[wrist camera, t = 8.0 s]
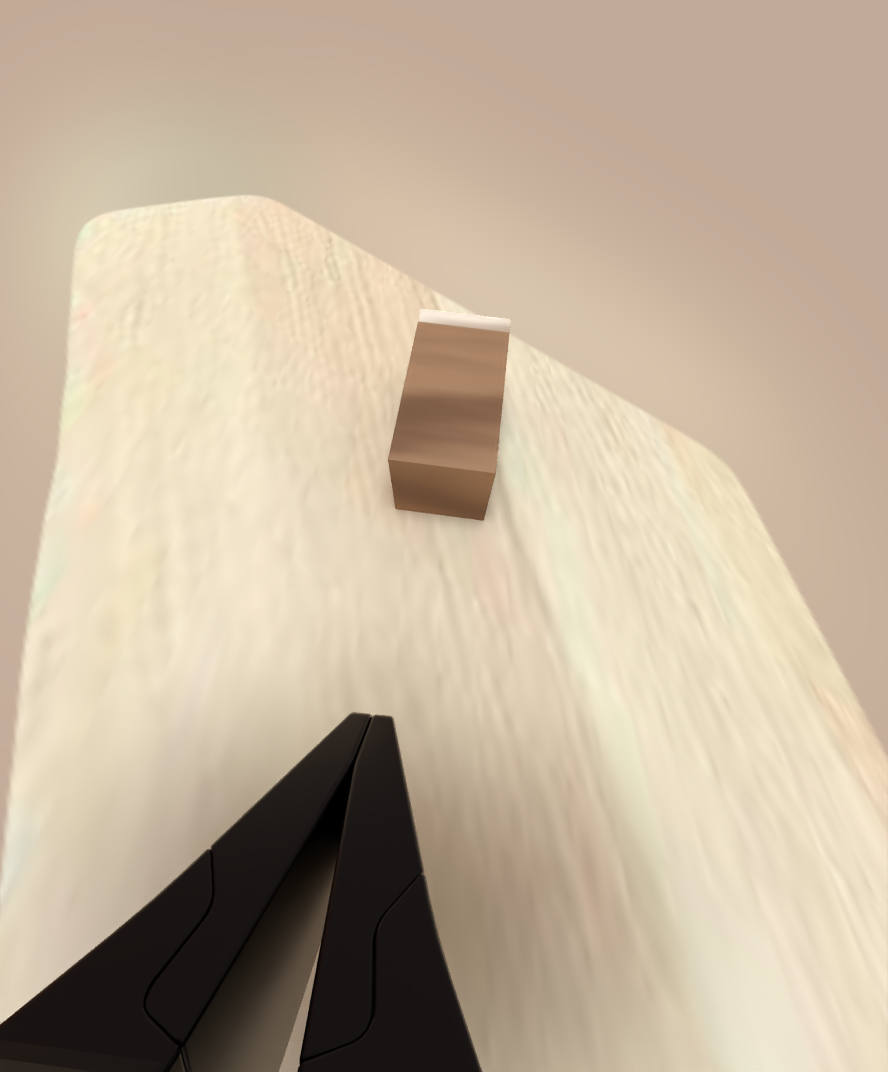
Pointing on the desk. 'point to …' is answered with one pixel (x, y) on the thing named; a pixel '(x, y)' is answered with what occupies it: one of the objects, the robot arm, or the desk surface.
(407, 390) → the beige tall block
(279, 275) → the desk surface
